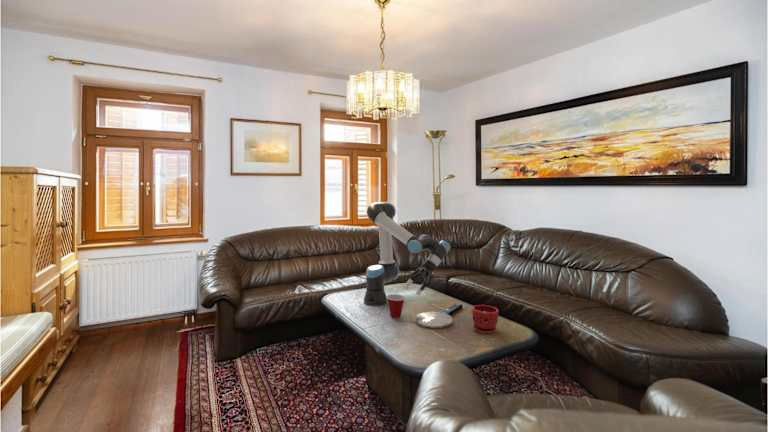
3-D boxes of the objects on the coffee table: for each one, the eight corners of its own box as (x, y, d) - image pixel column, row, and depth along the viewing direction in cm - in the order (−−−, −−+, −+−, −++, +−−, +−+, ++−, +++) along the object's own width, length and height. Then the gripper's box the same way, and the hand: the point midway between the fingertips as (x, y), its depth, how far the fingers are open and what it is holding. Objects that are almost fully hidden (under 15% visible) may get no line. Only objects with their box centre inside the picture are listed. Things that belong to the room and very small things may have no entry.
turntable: (409, 318, 209) (409, 315, 209) (438, 312, 218) (438, 309, 218) (428, 330, 191) (428, 327, 191) (459, 323, 200) (459, 320, 200)
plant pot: (494, 337, 184) (494, 314, 183) (468, 332, 191) (468, 309, 190) (501, 328, 195) (501, 306, 194) (476, 324, 202) (476, 302, 201)
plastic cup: (404, 320, 208) (403, 299, 207) (385, 319, 210) (384, 298, 209) (406, 313, 219) (406, 294, 218) (388, 312, 221) (388, 293, 220)
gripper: (448, 271, 213) (426, 300, 208) (424, 263, 235) (404, 289, 230) (440, 263, 210) (418, 292, 205) (417, 255, 232) (396, 282, 227)
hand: (410, 291), depth 217 cm, fingers open, 13 cm apart
